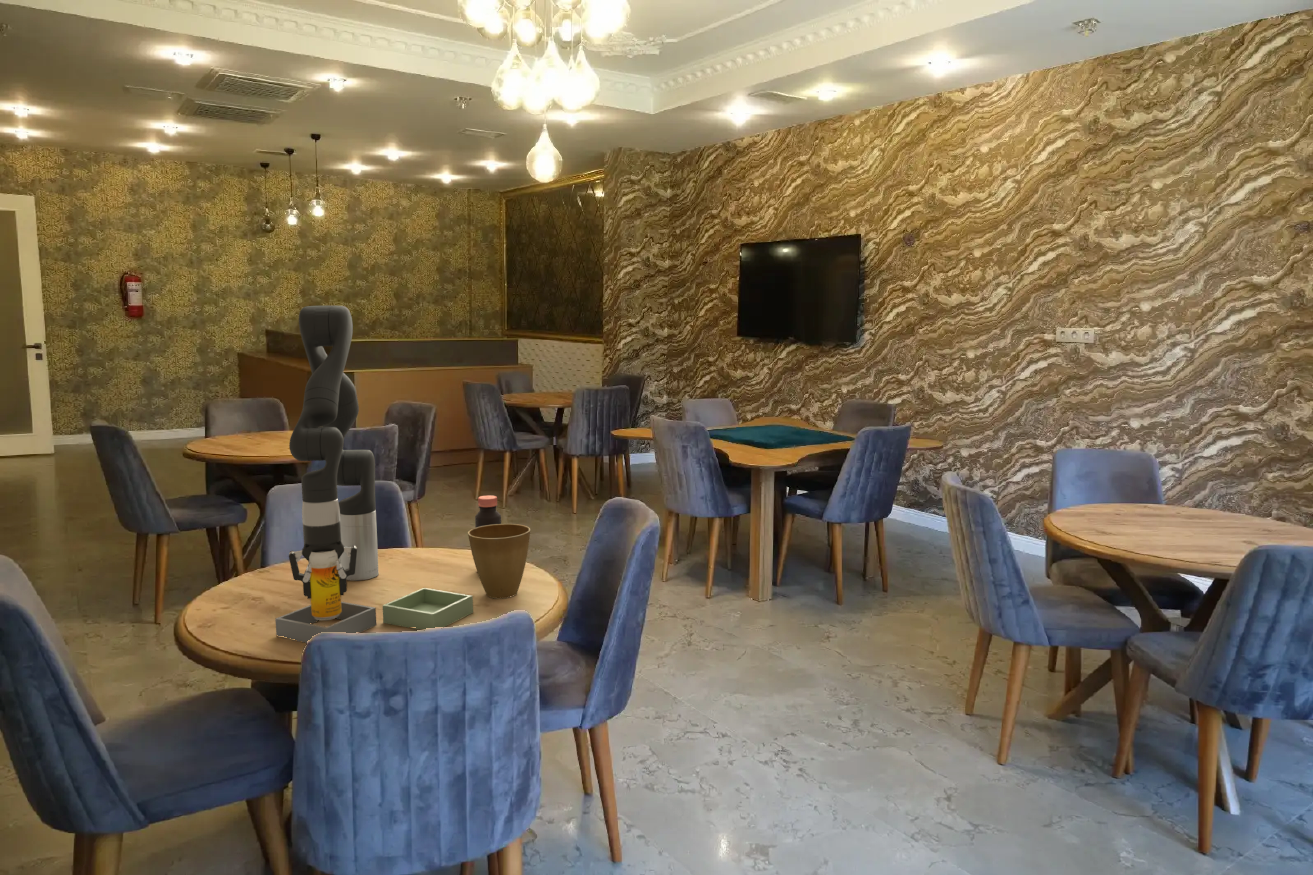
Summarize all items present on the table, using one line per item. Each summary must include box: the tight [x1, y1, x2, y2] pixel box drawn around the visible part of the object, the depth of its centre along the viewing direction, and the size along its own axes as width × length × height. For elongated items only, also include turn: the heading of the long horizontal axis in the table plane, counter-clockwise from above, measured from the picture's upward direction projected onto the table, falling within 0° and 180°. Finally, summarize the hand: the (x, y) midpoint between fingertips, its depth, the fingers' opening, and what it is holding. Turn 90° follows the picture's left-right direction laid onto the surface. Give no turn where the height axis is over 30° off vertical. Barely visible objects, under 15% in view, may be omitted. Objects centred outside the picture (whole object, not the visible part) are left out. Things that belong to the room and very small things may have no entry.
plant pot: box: [467, 523, 531, 599], centre depth 217 cm, size 15×15×16 cm
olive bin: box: [382, 587, 474, 630], centre depth 201 cm, size 14×14×4 cm
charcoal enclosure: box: [275, 601, 377, 644], centre depth 193 cm, size 14×14×4 cm
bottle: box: [474, 494, 502, 528], centre depth 236 cm, size 7×7×20 cm
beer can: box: [308, 550, 342, 621], centre depth 192 cm, size 6×6×15 cm
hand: (325, 595), depth 192 cm, fingers closed on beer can, 6 cm apart
